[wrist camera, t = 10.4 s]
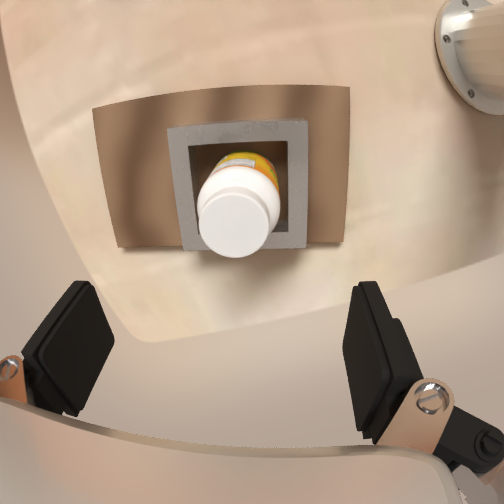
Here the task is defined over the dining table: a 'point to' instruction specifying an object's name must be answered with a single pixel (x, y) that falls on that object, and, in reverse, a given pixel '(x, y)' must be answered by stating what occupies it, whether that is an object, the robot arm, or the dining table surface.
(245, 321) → the dining table surface
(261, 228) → the supplement bottle
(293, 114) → the board
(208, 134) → the collar
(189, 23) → the dining table surface
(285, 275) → the dining table surface
